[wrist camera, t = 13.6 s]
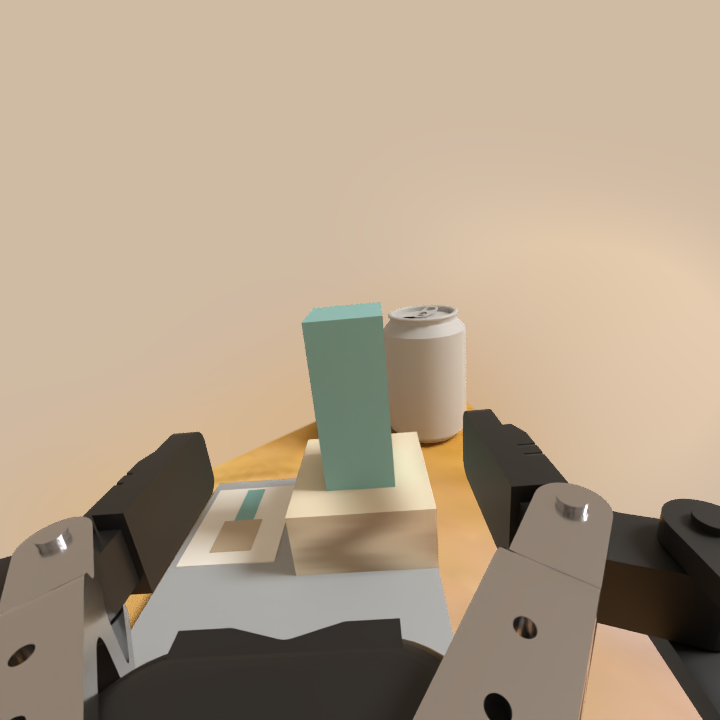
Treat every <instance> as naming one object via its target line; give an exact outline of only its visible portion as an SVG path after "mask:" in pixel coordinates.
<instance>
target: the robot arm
mask: <svg viewBox="0 0 720 720" xmlns="http://www.w3.org/2000/svg"><path fill="white" fill-rule="evenodd" d="M463 461H464V468H465V473H466V476H467V479H468V481H469V484H470V486H471V488H472V491H473V493H474V495H475V498H476V500H477V502H478V505H479V507H480V509H481V512H482V514H483V516H484V519H485V521H486V523H487V526H488V528H489V530H490V533H491V535H492V537H493V540H494V542H495V544H496V546H497V551H496V552H495V554H494V556H493V558H492V560H491V562H490V564H489V566H488V568H487V570H486V572H485V574H484V576H483V578H482V580H481V583H480V585H479V587H478V589H477V591H476V593H475V595H474V597H473V599H472V601H471V603H470V605H469V607H468V609H467V611H466V613H465V615H464V617H463V619H462V621H461V623H460V625H459V627H458V629H457V631H456V633H455V635H454V637H453V639H452V641H451V643H450V645H449V647H448V649H447V651H446V653H445V655H444V656H443V655H442V654H440V653H438V652H436V651H435V650H433V649H431V648H429V647H427V646H424V645H422V644H419V643H416V642H414V641H410V640H406V639H402V634H401V623H400V618H394V619H376V620H359V621H344V622H341V623H338V624H335V625H332V626H328V627H325V628H322V629H319V630H316V631H313V632H310V633H307V634H304V635H300V636H297V637H294V638H291V639H286V640H282V639H276V638H272V637H268V636H264V635H260V634H256V633H252V632H247V631H243V630H239V629H235V628H219V629H201V630H184V631H178V633H177V635H176V637H175V640H174V642H173V644H172V646H171V648H170V650H169V652H168V654H165V655H163V656H160V657H158V658H156V659H153V660H151V661H149V662H147V663H145V664H143V665H141V666H139V667H137V668H135V661H134V653H133V645H132V637H131V629H130V622H129V614H128V610H127V608H126V605H125V602H126V600H127V599H128V597H129V596H130V595H131V594H148V593H153V592H154V590H155V588H156V587H157V585H158V583H159V582H160V580H161V578H162V577H163V575H164V573H165V572H166V570H167V568H168V567H169V565H170V563H171V562H172V560H173V558H174V557H175V555H176V553H177V552H178V550H179V549H180V547H181V545H182V544H183V542H184V540H185V539H186V537H187V535H188V534H189V532H190V530H191V529H192V527H193V525H194V524H195V522H196V520H197V519H198V517H199V515H200V514H201V512H202V510H203V509H204V507H205V505H206V504H207V502H208V500H209V499H210V497H211V495H212V492H213V488H214V475H213V471H212V467H211V463H210V460H209V456H208V452H207V448H206V444H205V440H204V438H203V436H202V434H201V433H200V432H191V433H179V434H173V435H171V436H170V437H169V438H168V439H167V440H166V441H165V442H164V443H163V444H162V445H161V446H160V447H159V448H158V449H157V450H156V451H155V452H154V453H152V454H150V455H149V456H147V457H145V458H144V459H143V460H141V461H139V462H138V463H137V464H136V465H135V466H134V467H133V468H132V469H131V470H130V471H129V472H128V473H127V476H124V477H123V478H122V479H120V480H119V481H118V483H117V485H116V486H113V487H112V488H111V489H110V490H109V491H108V492H107V493H106V494H105V495H104V496H103V497H102V498H101V499H100V500H99V501H98V502H97V503H96V504H95V505H94V506H93V507H92V508H91V509H90V510H89V511H88V512H87V513H86V514H85V515H84V516H83V517H73V518H68V519H64V520H61V521H58V522H56V523H53V524H51V525H49V526H47V527H45V528H43V529H41V530H39V531H38V532H36V533H35V534H33V535H32V536H30V537H29V538H28V539H26V540H25V541H24V542H23V543H22V544H21V545H19V547H18V548H17V549H16V550H15V552H14V553H13V555H12V556H10V557H6V558H2V559H0V720H582V715H583V709H584V703H585V697H586V691H587V684H588V678H589V672H590V666H591V660H592V654H593V647H594V641H595V635H596V629H597V623H601V624H605V625H609V626H613V627H617V628H621V629H625V630H629V631H633V632H637V633H641V634H645V635H648V636H649V638H650V639H651V641H652V642H653V644H654V645H655V647H656V649H657V650H658V652H659V653H660V655H661V656H662V658H663V659H664V661H665V662H666V664H667V665H668V667H669V668H670V670H671V671H672V673H673V675H674V676H675V678H676V679H677V681H678V682H679V684H680V685H681V687H682V688H683V690H684V691H685V693H686V694H687V696H688V697H689V699H690V701H691V702H692V704H693V705H694V707H695V708H696V710H697V711H698V713H699V714H700V716H701V717H702V719H703V720H720V506H718V505H715V504H712V503H708V502H704V501H699V500H692V499H677V500H676V499H675V500H671V501H669V502H667V503H665V504H664V506H663V507H662V511H661V515H660V519H656V518H650V517H643V516H636V515H630V514H624V513H618V512H614V511H612V509H611V507H610V505H609V504H608V503H607V502H606V501H605V500H604V499H603V498H602V497H601V496H599V495H598V494H596V493H595V492H593V491H591V490H589V489H586V488H584V487H581V486H578V485H574V484H569V483H568V482H567V481H566V480H565V478H564V477H563V476H562V475H561V474H560V472H559V471H558V470H557V469H556V468H555V467H554V465H553V464H552V463H551V462H550V461H549V459H548V458H547V457H546V456H545V455H544V454H542V451H541V450H540V449H539V447H538V446H537V445H535V443H534V441H533V440H532V439H531V438H530V437H529V436H528V434H527V433H526V432H524V431H522V430H521V429H519V428H517V427H515V426H514V425H512V424H506V425H502V424H501V422H500V421H499V420H498V418H497V417H496V416H495V414H494V413H493V412H492V410H490V409H484V410H472V411H464V414H463Z"/></svg>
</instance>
